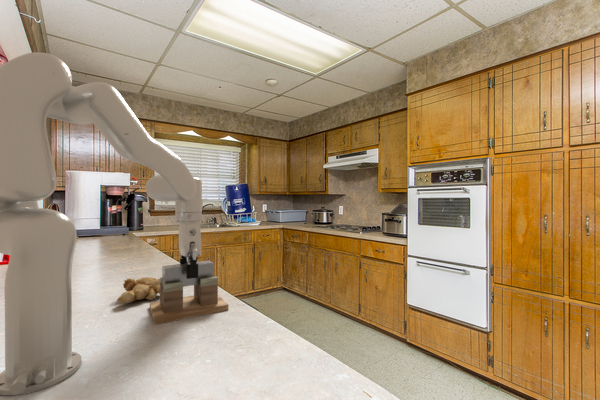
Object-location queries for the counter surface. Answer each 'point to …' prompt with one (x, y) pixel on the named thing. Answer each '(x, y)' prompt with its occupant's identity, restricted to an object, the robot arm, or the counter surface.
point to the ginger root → (140, 289)
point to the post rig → (187, 301)
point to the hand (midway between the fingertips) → (188, 274)
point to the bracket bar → (179, 273)
